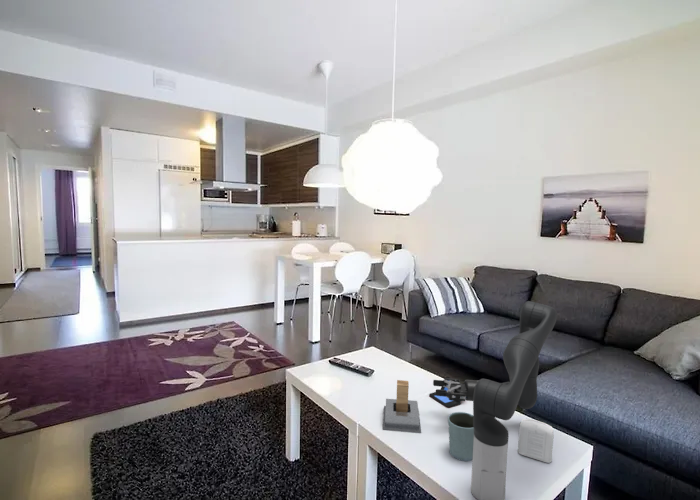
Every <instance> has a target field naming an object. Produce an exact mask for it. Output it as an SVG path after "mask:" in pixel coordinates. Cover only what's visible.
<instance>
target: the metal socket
mask: <svg viewBox="0 0 700 500" xmlns="http://www.w3.org/2000/svg"><path fill="white" fill-rule="evenodd" d="M396 400H397V398H395V399H394V398H385V405H383V418H382V419H383V421H382V422H383V423H382V431H394V432H404V433H416V434H418V433H419V434H422V429H421V428H422V427H421V419H420V411H419V405H418V404H419V402H418V400H410V399H408V412H396Z"/></svg>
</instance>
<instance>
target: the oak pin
mask: <svg viewBox="0 0 700 500" xmlns="http://www.w3.org/2000/svg"><path fill="white" fill-rule="evenodd" d="M409 383H410V381H409V380H401V379H397V381H396V399H397V400H396V412H408V400H409Z"/></svg>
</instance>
